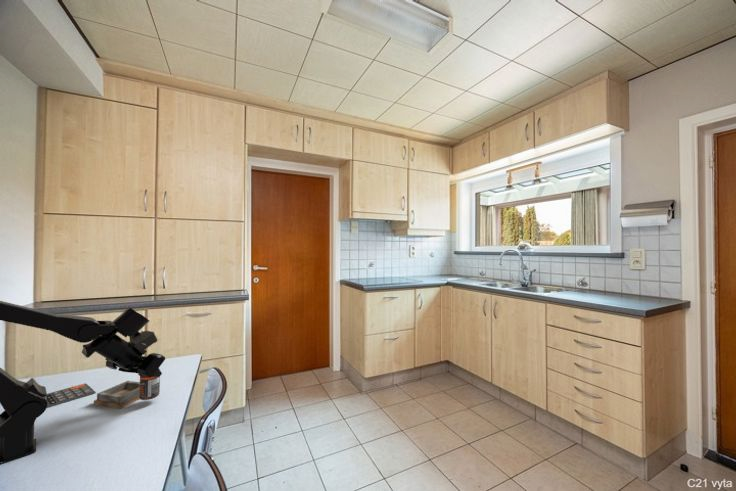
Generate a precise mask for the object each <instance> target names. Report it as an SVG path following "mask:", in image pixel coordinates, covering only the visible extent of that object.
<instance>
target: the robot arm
mask: <svg viewBox="0 0 736 491" xmlns="http://www.w3.org/2000/svg"><path fill="white" fill-rule="evenodd" d="M0 321H3V322H7V323H12V324H17V325H22V326H25V327H31V328H36V329H40V330H46V331H50V332H53V333H55V334H58V335H59V336H62V337H65V338H67V339H69V340H71V341H72V340H73V341H75V342H78V343H83V344H82V351H81V353H82V355H83V356H84V357H85V358H90V357H91V356H92V355H94V354H95V353H97V354H99V355H100V356H101V357H104V358H105V360H106V361H105V366H106V367H107V368H109V369H110V370H115V371H116V370H117V369H118V371H119V372H123V373H132V374H137V375H138V376H139V377H140V376H144V377H149V378H150V377H160V378H161V375H162V374H163V373H162V371H161V368H160V367H161V366H162V365H163V363H164V362H165V361H166V357H165V356H164V355H163V354H161V353H155V352H152V353H149V354H148V355H147V356H145V354H146V353H147V352H148V351H147V349H148V348H149V347H151V346H152V345H154V344H155V343H157V342H158V341H159V340H158V338H157V336H156V334H155V332H154V331H150V330H144V331H141V329H143V328H144V327H145V326H147V324H148V323H149V322H150V319H148V318H147V317H146V316H144V315H143V314H141V313H139V312H138V311H136V310H134V309H133V308H132V307H129V306H128V307H126V309H125V310H124V311H123V312H122V313H121V314H120V315H119V316H117V317H116V318H115V319H114V320H113V321H112V320H96V319H95V318H94V317H90V316H80V315H69V314H68V315H67V314H66V315H65V314H58V313H52V312H49V311H44V310H40V309H37V308H36V309H35V308H32V307H27V306H23V305H19V304H14V303H11V302H7V301H3V300H0ZM117 333H118V334H120V335H121V336H123V337H124V338H127V337H129V341H127V340H126V339H124V338H122V337H120V336H119V335H117ZM47 394H48V393H47V389H46V386H45V385H44V386H43V385H41V384H39V383H38V382H37V381H36V380H35V379H34V377H31V378H30V379H28V380H27V381H23V380H19V379H16V378H15V377H13V376H12V375H11V374H10V373H8V372H7V371H6V370H4V368H2V367H0V406H1V407H2V409H3V411H2V412H1V413H0V462H4V461H7V462H9V460H10V461H12V460H15V459H18V458H21V457H24V456H28V455H31V454H34V453H36V451H37V438H35V422H36V420H37V418H39V417H41V415H43V414H44V413H45V411H46V410H47V409H48V408H47V405H48V403H47V397H46V396H47ZM4 463H5V462H4Z"/></svg>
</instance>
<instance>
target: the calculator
mask: <svg viewBox="0 0 736 491" xmlns="http://www.w3.org/2000/svg"><path fill="white" fill-rule="evenodd" d="M94 394H96V391H95V390H94V389H93V388H92V387H91V386H90V385H88V384H87V383H86V382H85V383H82V384H78V385H74V386H71V387H67V388H64V389H59V390H55V391H53V392H48V393H47V396H46V397H47V403H48V405H47V408H46V409H48V408H52V407H54V406H55V407H56V406H58V405H61V404H65V403H69V402H71V401H76V400H78V399H81V398H82V399H83V398H85V397H87V396H91V395H94Z"/></svg>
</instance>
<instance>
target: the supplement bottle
mask: <svg viewBox="0 0 736 491" xmlns="http://www.w3.org/2000/svg"><path fill="white" fill-rule="evenodd" d="M139 382H140V393H139V396H140V399H139V400H141V401H149V400H153V399H155V398H157V397H158V396H159V395H160V388H161V387H160V385H161V376H160V377H150V378H149V377H144V376H139Z"/></svg>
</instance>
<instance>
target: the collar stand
mask: <svg viewBox="0 0 736 491" xmlns="http://www.w3.org/2000/svg"><path fill="white" fill-rule="evenodd" d="M139 393H140V381H135V380H126V381H124V382H121V383H119V384H116V385H115V386H112V387H110V388H107V389H105V390H103V391H100V392H98V393H97V394H96V399H95V400H93V405H96V406H101V407H106V408H112V409H118V410H121V409H123V408H125V407H127V406H128V405H130V404H133V403H135V402H137V401H139V400H141V399H140V396H139Z"/></svg>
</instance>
